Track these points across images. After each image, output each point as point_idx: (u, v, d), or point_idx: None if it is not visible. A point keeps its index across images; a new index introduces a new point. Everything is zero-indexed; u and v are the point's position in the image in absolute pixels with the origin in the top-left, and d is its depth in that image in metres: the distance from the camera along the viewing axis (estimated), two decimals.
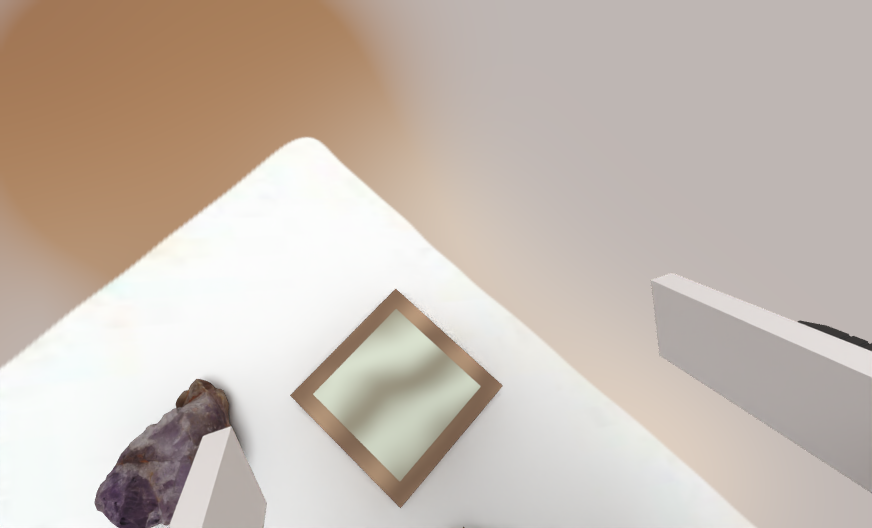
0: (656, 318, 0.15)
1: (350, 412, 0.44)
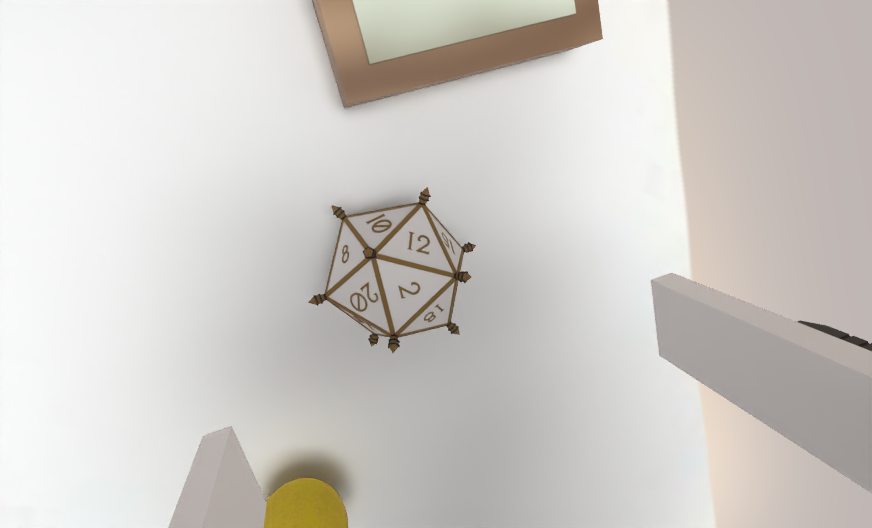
0: (656, 318, 0.15)
1: None
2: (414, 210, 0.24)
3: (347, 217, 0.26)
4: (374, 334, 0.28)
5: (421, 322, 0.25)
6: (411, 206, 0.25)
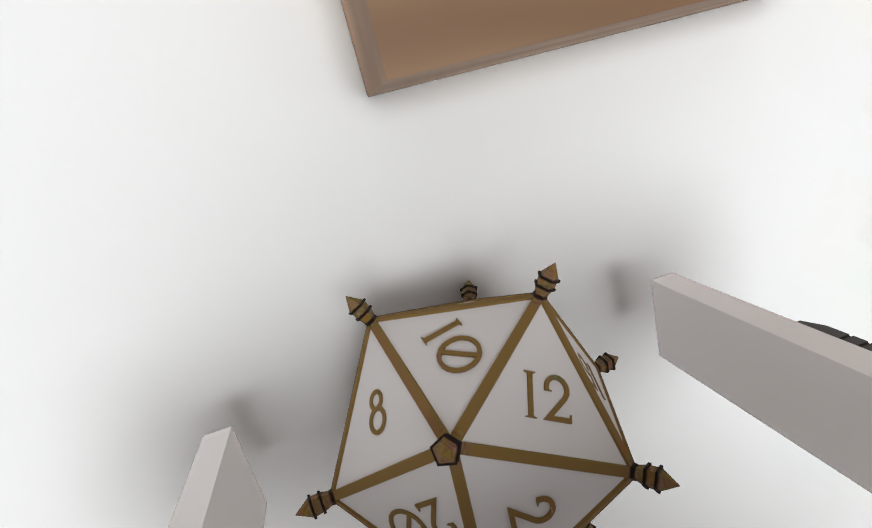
0: (656, 318, 0.15)
1: None
2: (528, 314, 0.11)
3: (378, 321, 0.12)
4: None
5: None
6: (517, 302, 0.12)
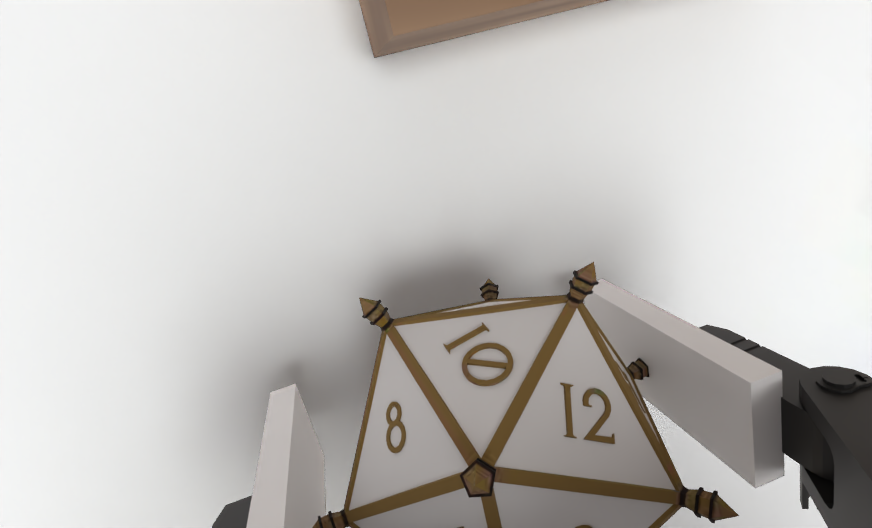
0: None
1: None
2: (563, 320, 0.10)
3: (395, 325, 0.11)
4: None
5: None
6: (550, 306, 0.10)
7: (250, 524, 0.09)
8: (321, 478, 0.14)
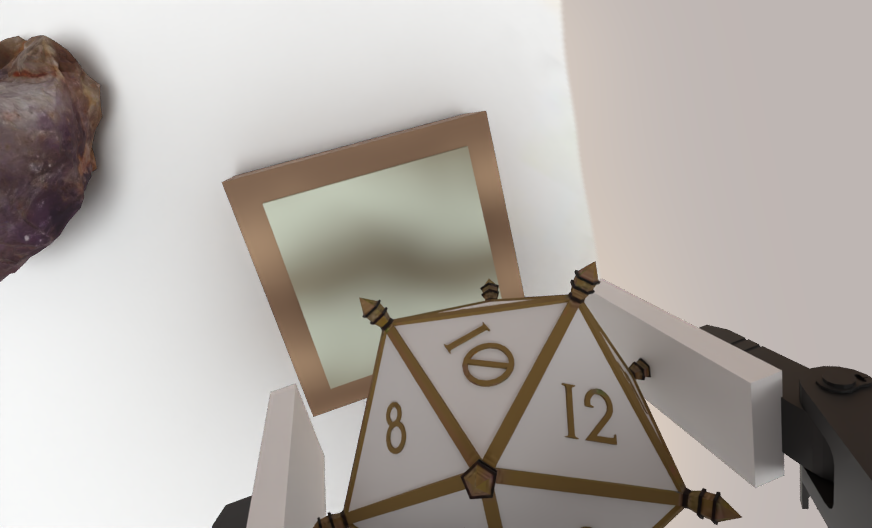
0: None
1: (309, 264, 0.25)
2: (565, 320, 0.10)
3: (395, 325, 0.11)
4: None
5: None
6: (552, 306, 0.10)
7: (250, 524, 0.09)
8: (321, 478, 0.14)
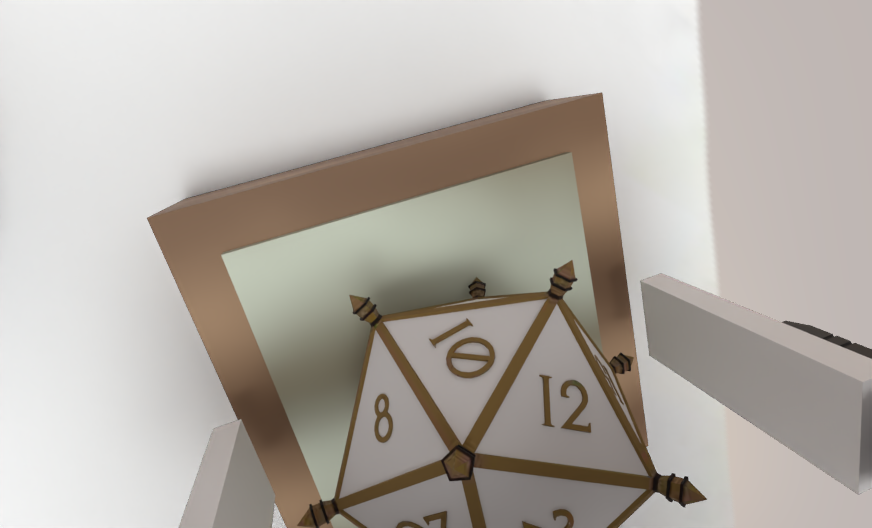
0: (646, 318, 0.15)
1: (304, 353, 0.15)
2: (543, 315, 0.10)
3: (383, 321, 0.12)
4: None
5: None
6: (532, 302, 0.11)
7: None
8: (266, 524, 0.12)
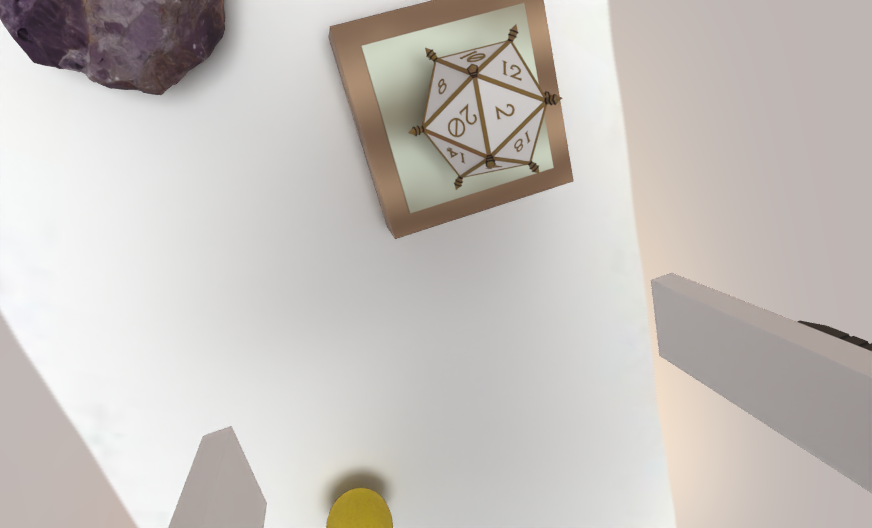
0: (656, 318, 0.15)
1: (396, 101, 0.31)
2: (504, 44, 0.27)
3: (439, 58, 0.28)
4: (460, 176, 0.30)
5: (511, 150, 0.27)
6: (500, 43, 0.27)
7: None
8: None
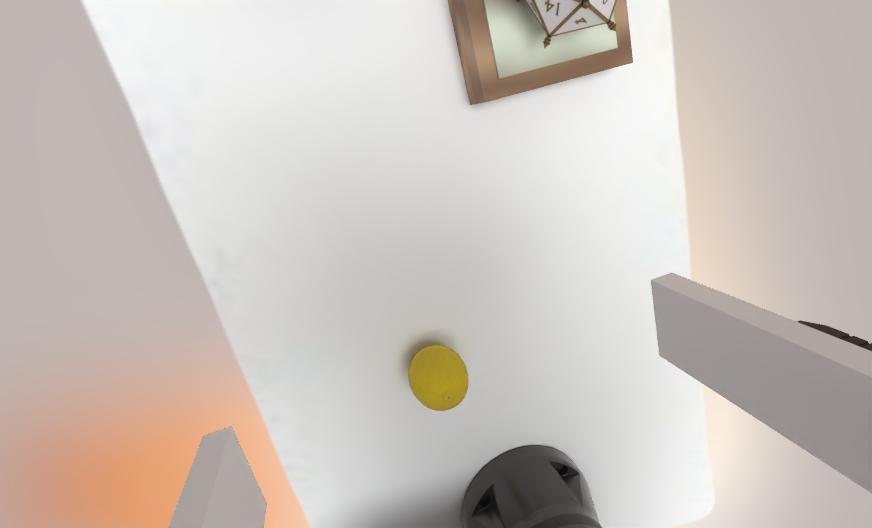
0: (656, 318, 0.15)
1: None
2: None
3: None
4: (549, 35, 0.36)
5: (599, 0, 0.33)
6: None
7: None
8: None
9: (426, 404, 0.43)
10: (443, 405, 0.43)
